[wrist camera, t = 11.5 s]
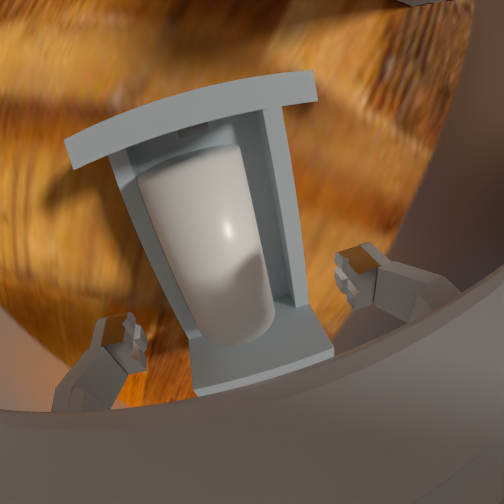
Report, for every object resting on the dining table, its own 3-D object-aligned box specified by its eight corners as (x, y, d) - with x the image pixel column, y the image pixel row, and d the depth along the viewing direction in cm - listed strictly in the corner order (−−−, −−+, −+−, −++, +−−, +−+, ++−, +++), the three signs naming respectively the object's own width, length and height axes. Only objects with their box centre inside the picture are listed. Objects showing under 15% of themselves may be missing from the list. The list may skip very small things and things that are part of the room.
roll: (159, 159, 15) (117, 192, 10) (244, 139, 14) (232, 163, 10) (206, 293, 20) (191, 347, 16) (275, 286, 19) (274, 343, 15)
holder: (111, 125, 13) (63, 139, 7) (263, 82, 14) (312, 70, 8) (192, 327, 21) (199, 398, 16) (298, 295, 22) (333, 357, 16)
